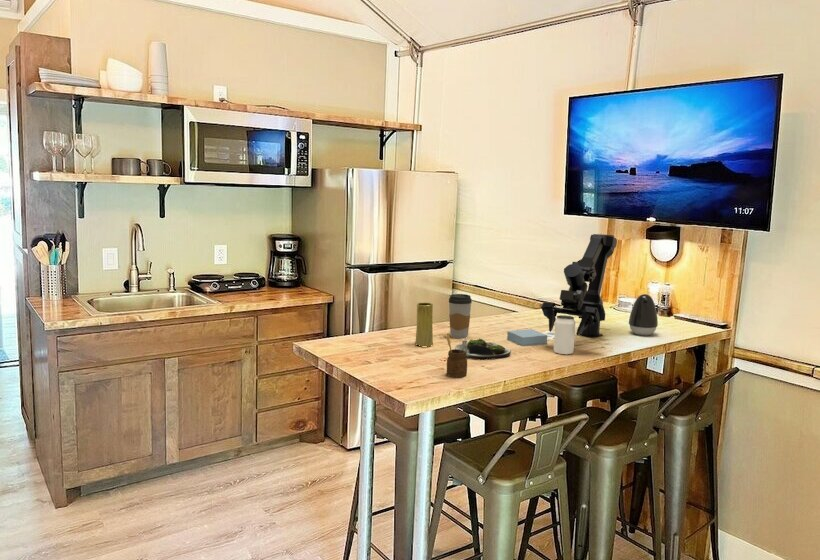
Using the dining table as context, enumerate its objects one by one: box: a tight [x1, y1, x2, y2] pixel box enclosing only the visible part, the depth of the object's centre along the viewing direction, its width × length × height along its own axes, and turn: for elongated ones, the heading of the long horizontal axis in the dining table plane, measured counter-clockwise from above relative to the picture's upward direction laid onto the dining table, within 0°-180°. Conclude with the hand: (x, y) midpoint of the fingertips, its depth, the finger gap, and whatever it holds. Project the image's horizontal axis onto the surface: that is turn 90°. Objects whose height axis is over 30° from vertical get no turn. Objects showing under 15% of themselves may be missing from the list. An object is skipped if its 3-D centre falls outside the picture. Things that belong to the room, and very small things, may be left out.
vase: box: [414, 302, 434, 347], centre depth 220 cm, size 6×6×14 cm
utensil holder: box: [445, 333, 468, 378], centre depth 187 cm, size 6×6×12 cm
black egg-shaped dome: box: [628, 293, 659, 336], centre depth 241 cm, size 10×10×15 cm
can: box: [553, 314, 576, 356], centre depth 213 cm, size 6×6×12 cm
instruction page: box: [541, 330, 555, 341], centre depth 237 cm, size 12×9×1 cm
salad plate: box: [454, 338, 511, 361], centre depth 213 cm, size 19×18×5 cm
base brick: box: [506, 328, 548, 347], centre depth 228 cm, size 10×10×3 cm
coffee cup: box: [448, 293, 473, 339], centre depth 232 cm, size 8×8×15 cm
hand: (563, 332), depth 212 cm, fingers open, 9 cm apart
